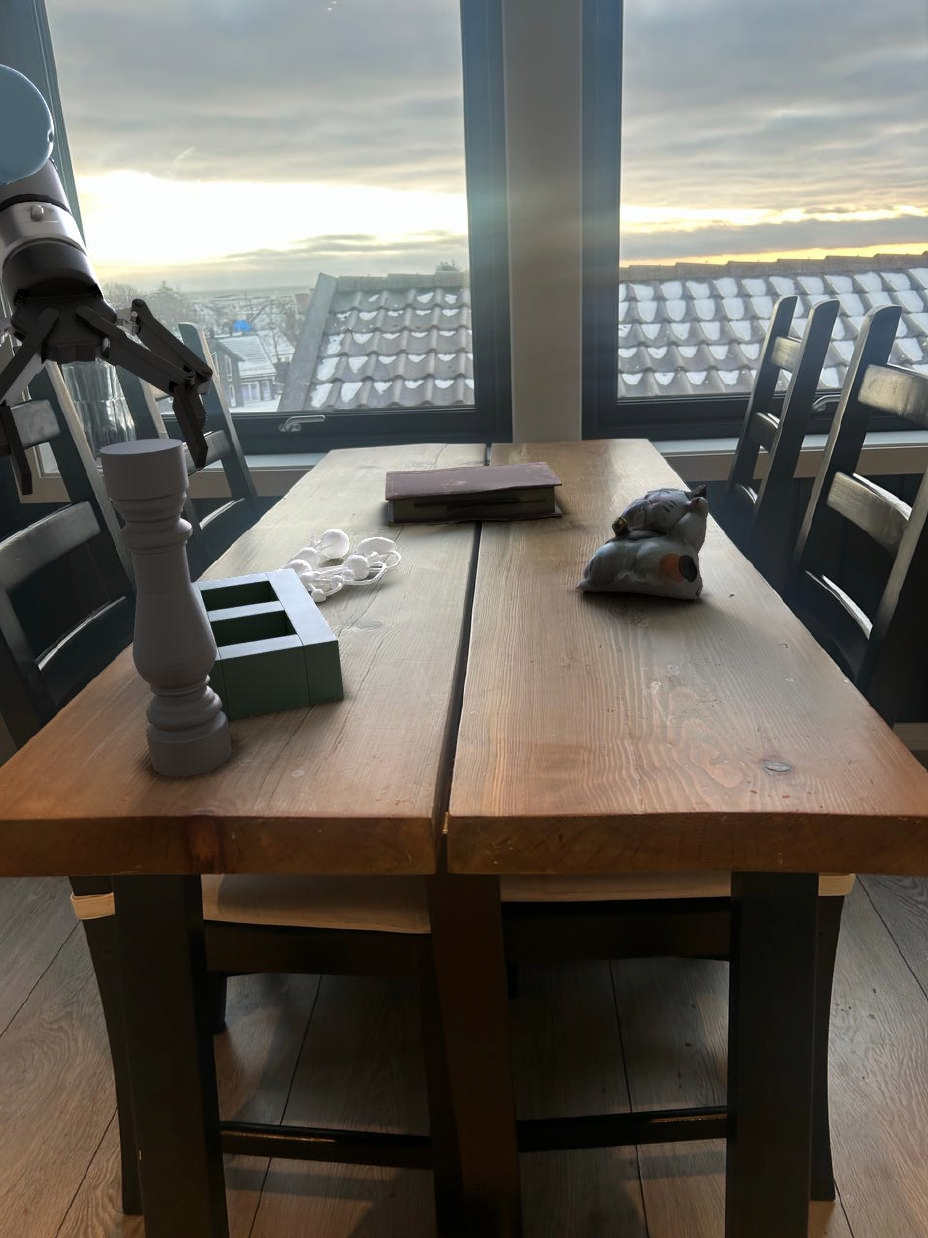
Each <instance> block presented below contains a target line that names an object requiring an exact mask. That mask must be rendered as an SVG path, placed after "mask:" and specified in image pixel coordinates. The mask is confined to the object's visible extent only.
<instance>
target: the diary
mask: <svg viewBox="0 0 928 1238" xmlns="http://www.w3.org/2000/svg"><path fill="white" fill-rule="evenodd" d="M562 486H563V483H562V482H561V480H560V479H559V477H558V476H557V474H556V473H555V471H554V470H553V469H552V468H551V467H550V466H549V465H548V463H547V462H546V461H534V462H523V463H514V464H513V463H512V464H505V465H504V464H503V465H479V466H477V465H475V466H474V465H473V466H459V467H450V468H449V467H448V468H437V469H428V470H397V471H395V470H394V471H393V470H392V471H386V473H385V487H384V488H385V492H384V499H385V501H386V502H387V521H386V523H387V524H388V525H391V526H415V525H416V526H418V525H419V526H420V525H438V524H439V525H440V524H449V523H456V522H457V523H458V522H466V521H511V522H515V521H517V522H518V521H523V520H525V521H526V520H532V519H542V518H551V517H560V516H561V517H562V516H563V515H564V513H563V512H562V510H561V509H560V507H559V506H558V504H557V502H556V493H555V492H556V491H555V490H556V489H555V488H556V487H562Z"/></svg>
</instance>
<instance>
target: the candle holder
mask: <svg viewBox="0 0 928 1238" xmlns="http://www.w3.org/2000/svg"><path fill="white" fill-rule="evenodd" d="M98 452H99V458H100V463H101V468H102V474H103V480H104V485H105V492H106V495H107V498H108V499H109V498H110V499H111V500H112V506H113V508H114V509H115V510H116V511H117V512H118V514H119V515H120V517H121V520H123V521H125V525H124V526H123V527H122V528H121V529H120V530H119V532H118V533H117V539H118V541H119V544H120V545H121V546H122V547H125V548H126V549H127V552H129V553H130V556H131V561H132V568H133V573H134V578H135V579H134V580H135V585H136V596H135V597H136V600H135V615H134V627H133V638H132V639H133V642H132V651H131V653H132V654H131V655H132V659H133V663H134V667H135V669H136V671H137V673H138V674H139V676H140V677H141V678H142V680H144V681H145V682H147V684H149V689H150V692H151V693H152V694H154V695H153V697H152V698H151V701H150V702H149V703H150V704H149V705H148V706H147V708H146V710H145V716H146V718H147V722H148V723H149V724H148V725H147V727H146V728H145V734H146V735H145V736H146V740H147V745H148V751H149V756H150V762H151V767H152V769H153V771H155V772H157V773H159V774H160V775H163V776H168V777H169V776H170V777H190V776H195V775H199V774H204V773H207V772H210V771H212V770H214V769H216V768H219V767H221V766H223V764H225V762H227V761H229V759H230V758H231V755H232V753H233V748H232V740H231V733H230V725H229V720H227V717H226V715H225V713H224V712H222V711H220V710H221V708H222V702H221V700H220V698H219V696H218V695H217V694H215V693H213V690H212V689H211V688H209V686H207V684H208V682H209V681H210V678H209V676H208V674H209V673H210V671H211V669H212V667H213V665H214V662H215V660H216V655H217V648H216V643H215V640H214V638H213V636H212V633H211V631H210V628H209V626H208V624H207V621H206V619H205V616H204V614H203V611H202V609H201V607H200V604H199V602H198V599H197V597H196V594H195V592H194V589H193V587H192V584H191V583H192V581H191V575H190V568H189V562H188V554H187V547H186V545H187V544H188V539H189V538H191V536H192V535H193V531H194V530H193V526H192V524H191V522H189V521H187V520H186V519H183V518H181V517H182V516H181V513H182V512H183V511H184V504H185V503H186V501H187V498H188V495H187V492H186V491H187V489H188V488H189V487H190V482H189V475H188V467H187V461H186V455H185V448H184V443H183V441H182V440H181V439H175V438H148V439H147V438H146V439H136V440H128V441H123V442H117V443H113V444H109V445H106V446H103V447H101V448H100V449H98Z"/></svg>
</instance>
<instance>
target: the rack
mask: <svg viewBox="0 0 928 1238" xmlns="http://www.w3.org/2000/svg"><path fill="white" fill-rule="evenodd" d="M191 584H192V587H193V589H194V592H195V594H196V597H197V599H198V602H199V604H200V607H201V609H202V611H203V614H204V616H205V619H206V621H207V624H208V626H209V628H210V631H211V633H212V636H213V638H214V640H215V643H216V648H217V655H216V660H215V662H214V665H213V667H212V669H211V671H210V673H209V674H208V676H209V678H210V681H209V682H208V684H207V686H209V688H211V689H212V690H213V693H215V694H217V695H218V696H219V698H220V700H221V702H222V708H221V710H220V711H222V712H224V713H225V715H226V717H227V720H228V721H230V720H237V719H240V718H245V717H251V716H257V715H263V714H268V713H273V712H279V711H283V710H289V709H294V708H295V709H296V708H300V707H304V706H312V705H316V704H321V703H327V702H332V701H337V700H343V699H345V693H344V682H343V674H342V665H341V664H342V663H341V654H340V645H339V639H338V637H337V635H336V634H335V633H334V631H333V630H332V628H331V626H330V625H329V623H328V622H327V620H326V619H325V617H324V616H323V614H322V612H321V611H320V609H319V607H318V606H317V605H316V602H314V601H313V600H312V598H311V597H310V596H311V594H310V593H309V592H307V590H306V589H305V587H304V585H303V584H302V582H301V581H300V579H299V578H298V576H297V574H296V573H295V571H294V570H293V568H291V569H285V570H278V571H276V570H272V571H265V572H258V573H252V574H245V575H243V574H242V575H237V576H230V577H223V578H218V579H217V578H216V579H210V580H209V579H208V580H203V581H198V582H197V581H196V582H191Z"/></svg>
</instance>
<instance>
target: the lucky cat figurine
mask: <svg viewBox="0 0 928 1238" xmlns="http://www.w3.org/2000/svg"><path fill="white" fill-rule="evenodd" d="M707 493H708V492H707V486H706V484H705V485H704V484H703V485H699V486H697V487H694V488H693V489H692V490H690V491H686V490H683V489H680V488H675V487H661V488H658V489H654V490H648V491H647V492H646V494H645V495H644V496H641V497H639V498H637V499H634V500H633V501H631V502H629V504H628V505H627V506H626V507H625V508H624V510H622V512H621V513H620V515H619V516H617V517H616V518H615V519H614V521H613V523H612V524H611V529H612V531H613V533H614V535H615V536H613V537H611V538H609V539H608V540H606V541H605V542H604V545H602V546H601V547H599V548H597V550H596V551H595V552H594V555H593V556H592V557H591V558H590V559H589V561H588V562H587V564H586V565H585V567H584V570H583V580H580V581H579V582H578V583H577V585H574V588H575V589H577V590H579V591H582V592H583V593H597V592H598V593H600V592H604V593H605V592H609V593H611V592H612V593H613V592H615V593H616V592H619V593H620V592H624V593H632V594H640V595H649V596H657V597H664V598H671V599H672V598H673V599H679V600H684V601H689V602H693V603H695V602H696V601H697V600H699V598H700V596H701V593H702V590H703V587H704V584H703V577H702V575H701V570H700V556H699V554H700V551H701V549H702V547H703V546H704V543H705V541H706V534H707V528H708V525H707V524H708V523H707V522H708V516H709V512H710V511H709V510H710V509H709V501H708V500H707Z"/></svg>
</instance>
